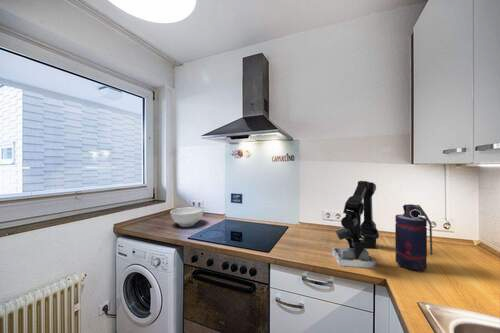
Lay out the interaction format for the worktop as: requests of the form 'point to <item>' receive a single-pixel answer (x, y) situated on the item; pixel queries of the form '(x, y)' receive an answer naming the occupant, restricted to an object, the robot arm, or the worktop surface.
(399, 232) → the grenade
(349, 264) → the rack
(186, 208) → the decorative bowl
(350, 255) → the panel
